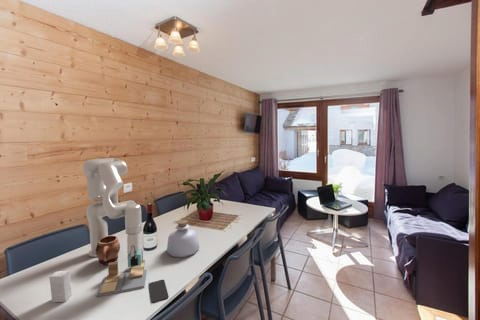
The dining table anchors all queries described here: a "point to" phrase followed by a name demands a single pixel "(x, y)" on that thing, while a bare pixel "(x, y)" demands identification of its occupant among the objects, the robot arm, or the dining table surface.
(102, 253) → the decorative planter
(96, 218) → the robot arm
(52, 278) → the skincare box
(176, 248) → the light grey vase
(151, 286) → the phone
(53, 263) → the dining table surface
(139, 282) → the lane board
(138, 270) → the strip cube lane
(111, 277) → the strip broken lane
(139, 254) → the cube
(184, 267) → the dining table surface
